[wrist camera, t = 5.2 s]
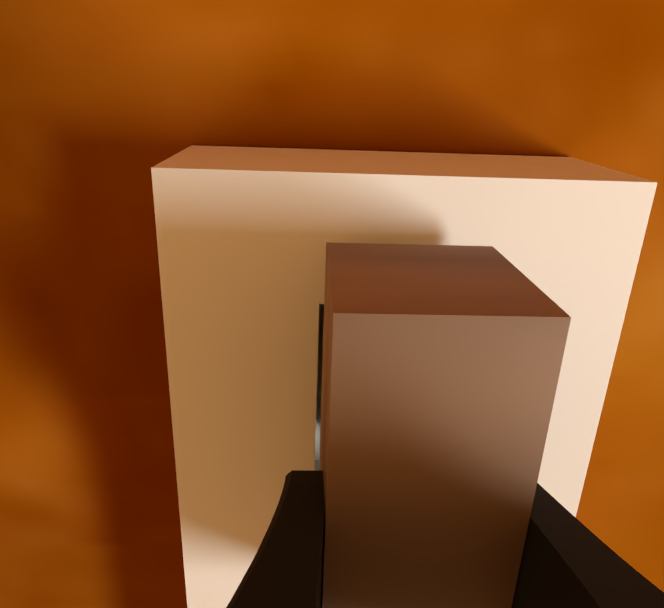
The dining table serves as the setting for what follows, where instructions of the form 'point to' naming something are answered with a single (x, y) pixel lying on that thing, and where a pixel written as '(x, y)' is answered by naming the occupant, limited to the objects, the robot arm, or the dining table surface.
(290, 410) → the white rectangular box
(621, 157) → the dining table surface
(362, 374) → the rail end
